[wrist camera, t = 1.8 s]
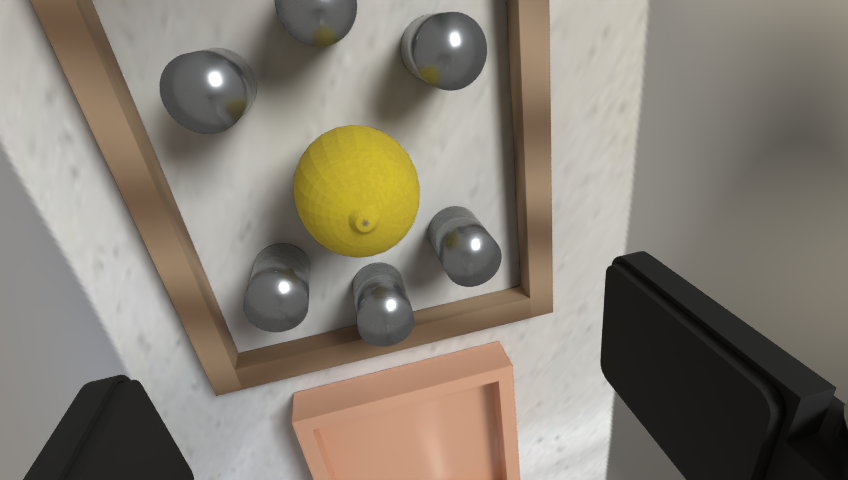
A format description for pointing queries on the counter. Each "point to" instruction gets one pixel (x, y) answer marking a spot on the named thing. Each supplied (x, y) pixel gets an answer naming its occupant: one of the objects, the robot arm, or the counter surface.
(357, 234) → the lemon
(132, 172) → the frame
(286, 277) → the posts
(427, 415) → the dish
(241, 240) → the counter surface
